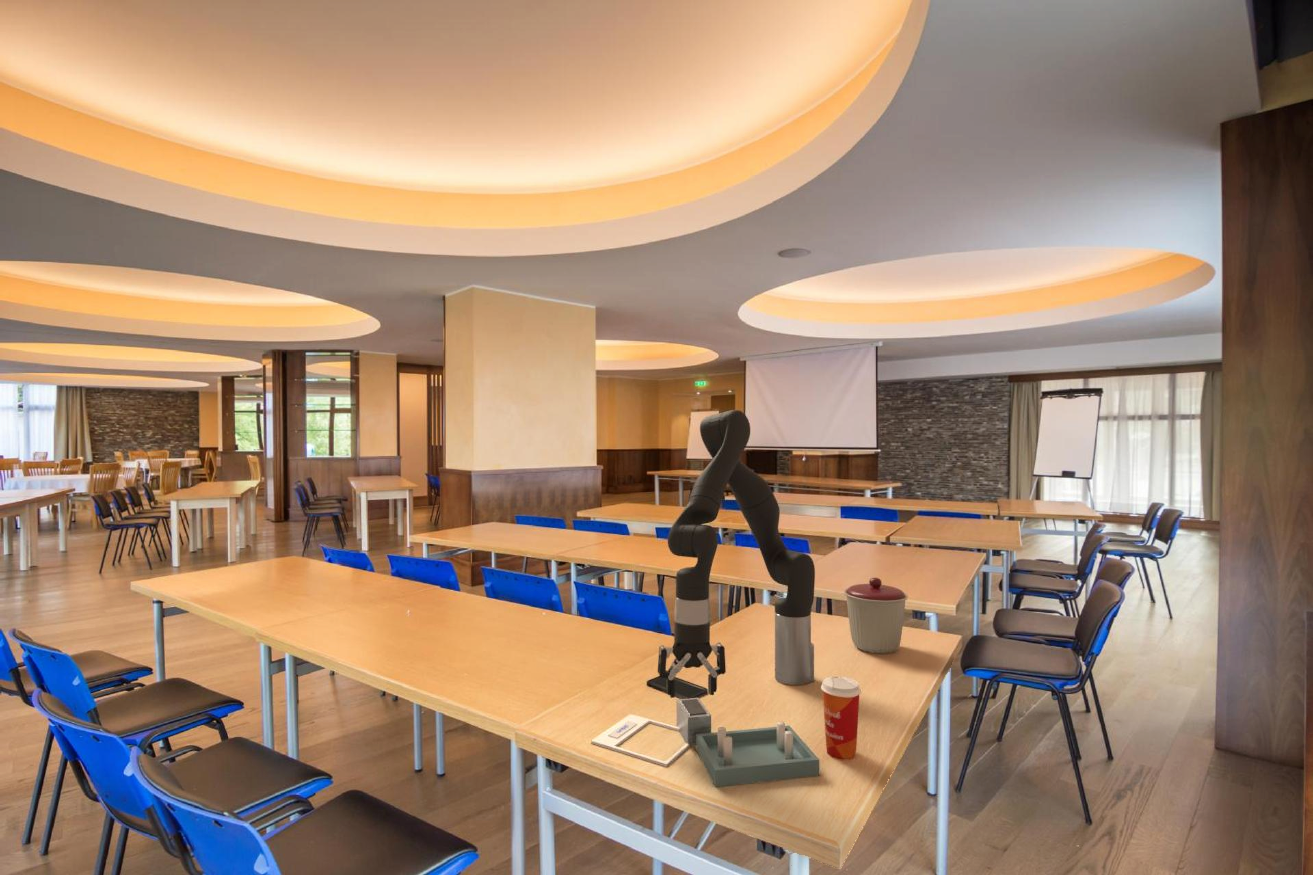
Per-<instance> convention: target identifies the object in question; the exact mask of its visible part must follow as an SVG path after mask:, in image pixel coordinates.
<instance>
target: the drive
mask: <svg viewBox="0 0 1313 875" xmlns="http://www.w3.org/2000/svg"><path fill="white" fill-rule="evenodd" d="M676 727H678V728H679V731H678V732H679V734H680V736H681V738H682V739H683V740H684V742H685V744H686V743H687V744H689V747H688V748H690V747H696V734H704V733H712V714H711V713H710V711H709V710H708V708H707V707H706V706H705V705H704V703H703V701H702V700H701V699H700V697H698V698H690V699H680V698H679V699H676Z"/></svg>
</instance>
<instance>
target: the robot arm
mask: <svg viewBox="0 0 1313 875" xmlns="http://www.w3.org/2000/svg"><path fill="white" fill-rule="evenodd" d="M699 424H700V425H699V432H700V433H699V434H700V438H701V439H702V440H701V441H702V442H703V445H704V447H705V448H706V450H707V451H708V453H709V455H710V457H711V458H712V460H711V461H710V462H709V463H708V464H707V466H706V467H705V468H704V469H703V470H702V471H701V473H700V474H699V475H698V477H697V479H696V480H695V482H694V484H693V486H692V489H691V492H690V495H689V498H688V501H687V504H686V506H684V508H683V510H682V511H681V513H680V514H679V515H678V517H677V519H676V520H674V523H673V524H672V526H671V528H670V530H669V533H668V535H667V546H668V550H670V552H671V554H672V555H674V556H677V557H684V558H695V559H697V561H696V563H695V565H694V566H689V567H688V566H687V567H682V568H680V569H678V570H677V572H676V574H675V601H674V621H673V622H674V624H673V626H674V627H673V628H674V629H673V630H674V633H673V636H674V638H673V639H674V640H673V645H672V646H668V647H667V646H664V645H660V646H659V647H658V660H657V673H658V676H660V677H661V678H666V679H667V680H666V690H667V693H668V694H667V693H666V694H667V695H668V696H669V697H670V698H671V699H672V698H673V699H674V698H676V697H675V680H674V677H676V676H677V675H678V673H680V672H681V670H682V669H683V668H685V669H690V668H701V667H702V666H704V668H705V669H706V670H707V672H708V673H709V674H708V675H707V676H708V678H707V680H708V682H707V683H708V685H707V689H708V694H709V695H710V696H715V693H716V692H717V690H718V688H717V687H718V686H717V684H718V676H720V675H724V674H726V673H727V672H726V669H727V668H726V653H725V650H726V649H725V646H724V645H723V644H722V643H721V642H717V643H716V644H711V642H710V641H711V640H710V639H711V628H710V627H711V623H710V622H711V605H710V577H711V576H710V575H711V571H712V567H713V566H712V565H713V563H714V559H715V555H716V552H717V549H718V544H719V538H718V533H717V530H715V528H714V527H713V526H711V525H708V524H709V523H713V522H715V520H716V519H717V517H718V515H719V512H720V508H721V504H722V502H723V497H724V494H725V491H726V488H727V485H728V487H729V489H730V490H731V493H732V495H733V496H734V499H735V501H736V503H737V506H738V507H739V509H740V511H741V513H742V515H743V518H744V520H745V521H746V523H747V525H748V527H749V529H750V531H751V533H752V535H753V537H754V539H755V541H756V544H757V546H758V549H759V550H760V553H761V557H762V560H763V561H764V563H765V567H766V570H767V573H768V575H769V576H770V578H771V579H772V580H773V581H774V582H775V583H777V584H779V585H783V586H785V587H787V588H786V589H787V591H786V592H787V593H786V596H785V597H783V598H779V599H777V600H775V602H774V679H775V680H776V681H777V682H779V683H782V684H786V685H789V686H790V685H791V686H803V685H808V684H809V683H812V682H813V683H814V682H815V645H814V643H812V618H811V617H812V606H813V604H814V599H815V584H816V583H815V580H816V569H815V563H814V560H813V558H812V557H811V556H810V555H809V554H807V553H804V552H800V551H795V550H790V549H788V547H787V546H786V544H785V543H784V541H783V538H782V537H781V535H780V531H779V524H780V515H781V514H780V513H781V512H780V506H779V503H778V500H777V499H776V496H775V494H774V492H773V490H772V488H771V486H770V485H769V483H767V481H766V480H765V479H764V478H763V477H762V476H761V475H759V474H758V473H756V472H755V471H754V470H752V469H751V468H749V467H748V465H746V464H744V462H742V461H741V460H740V459H741V457H742V455H743V452H745V449H746V447H747V446H748V443H749V440H750V436H751V424H750V421H749V418H748V416H747V415H746V414H745V413H744V412H743V411H742V410H738V409H731V410H727V411H722V412H720V413H716V414H712V415H707V416H706V417H704V418H703V419H701V421H700V423H699ZM712 652H713V654H714V655H715V656H716V666H715V667H713V666H712V664H711V663H710V662H709V660H708V657H710V655H711V653H712ZM672 654H673V656H674V657H675V658H674V659H673V661H672V662H671V664H670V665H669V668H668V669H667V659H669V658H670V656H671V655H672Z"/></svg>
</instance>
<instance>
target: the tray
mask: <svg viewBox="0 0 1313 875" xmlns="http://www.w3.org/2000/svg"><path fill="white" fill-rule="evenodd" d="M695 750H696V752H697V754H698V756H699V758H700V759H701V761H702V763H703V766H704V768H705V769H706V772H707V774H708V775H709V777H710V779H711V781H712V784H713V785H714V787H715V788H720V787H728V786H737V785H745V784H746V785H747V784H755V783H765V782H773V781H782V780H793V779H801V778H810V777H818V776H820V758H819V757H818V756H817V755H816V754H815V753H814V752H813V750H812V749H811V748H810V747H809V746H808V744H806V743H805V741H803V739H802V738H801V737H800V736H799V734H797V732H795V729H793V728H792V727H791V726H790V725H786V723H785V722H784V721H783V722H782V721H777V722H776V726H769V727H760V728H759V727H758V728H750V729H739V730H738V729H737V730H728V731H727V729H726V727H723V726H720V727H717V732H716V731H715V732H711V733H704V734H696V746H695Z"/></svg>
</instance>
